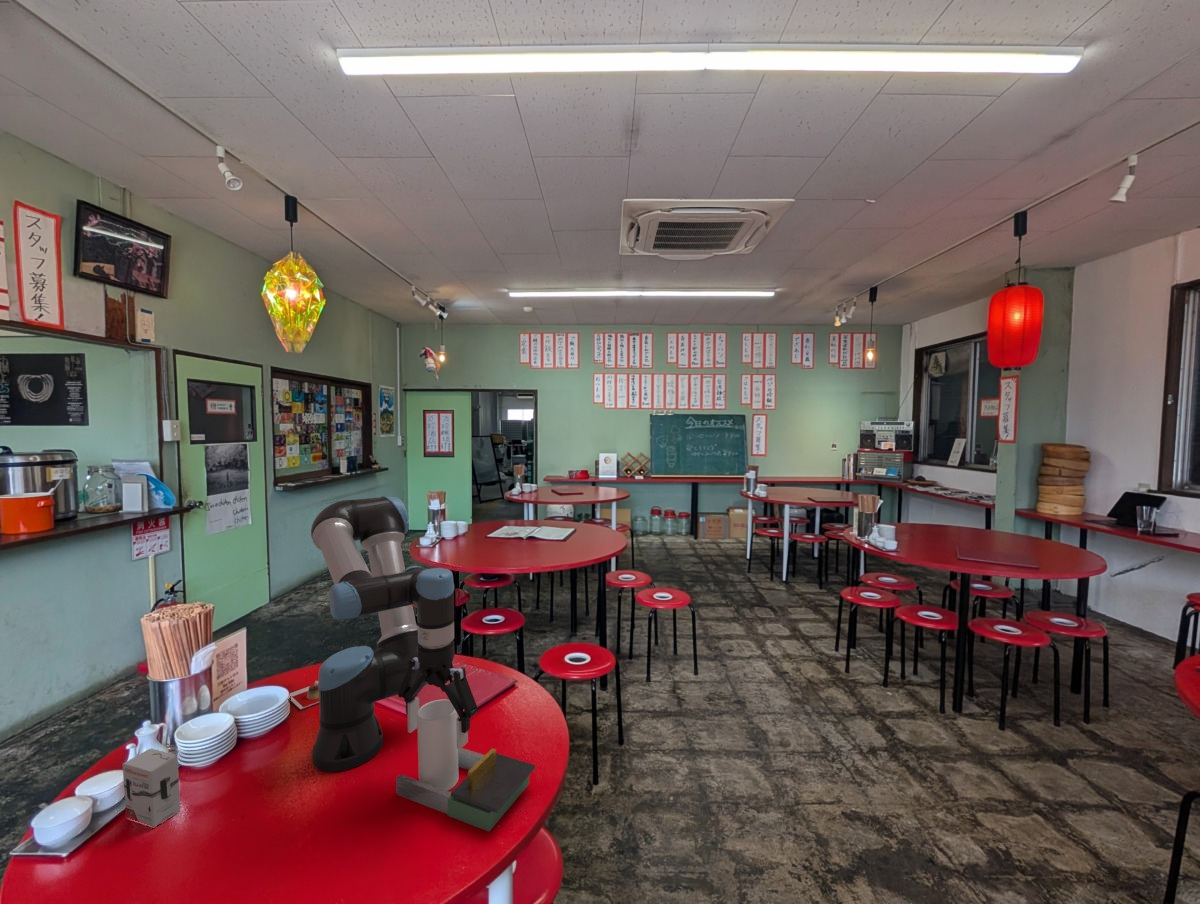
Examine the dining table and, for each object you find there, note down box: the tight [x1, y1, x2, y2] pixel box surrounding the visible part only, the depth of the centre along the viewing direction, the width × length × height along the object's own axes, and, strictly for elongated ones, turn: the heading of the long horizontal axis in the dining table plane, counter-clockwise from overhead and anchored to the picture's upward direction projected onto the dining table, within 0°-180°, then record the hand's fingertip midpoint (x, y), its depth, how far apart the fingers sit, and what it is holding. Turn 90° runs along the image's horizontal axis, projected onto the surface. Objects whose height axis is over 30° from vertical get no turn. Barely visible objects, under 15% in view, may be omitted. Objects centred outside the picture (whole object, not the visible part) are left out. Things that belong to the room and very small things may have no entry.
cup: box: [417, 699, 460, 791], centre depth 108 cm, size 8×8×16 cm
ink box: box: [122, 748, 181, 827], centre depth 99 cm, size 8×5×12 cm, turn 72°
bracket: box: [395, 747, 486, 815], centre depth 107 cm, size 14×13×4 cm
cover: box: [450, 748, 536, 813], centre depth 102 cm, size 11×14×4 cm
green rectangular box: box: [447, 775, 530, 832], centre depth 102 cm, size 10×14×4 cm
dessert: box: [289, 680, 319, 710], centre depth 145 cm, size 12×12×5 cm
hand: (437, 737), depth 108 cm, fingers open, 13 cm apart
